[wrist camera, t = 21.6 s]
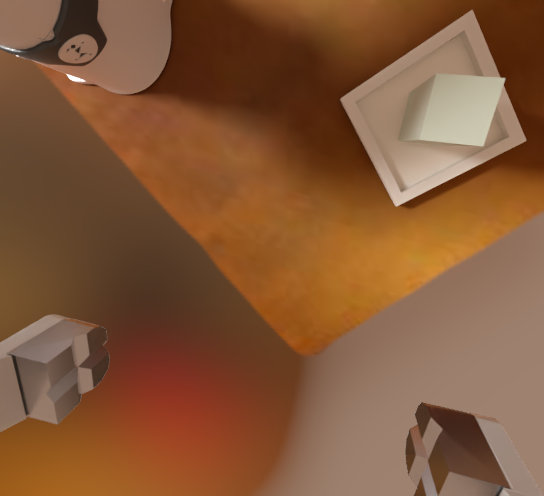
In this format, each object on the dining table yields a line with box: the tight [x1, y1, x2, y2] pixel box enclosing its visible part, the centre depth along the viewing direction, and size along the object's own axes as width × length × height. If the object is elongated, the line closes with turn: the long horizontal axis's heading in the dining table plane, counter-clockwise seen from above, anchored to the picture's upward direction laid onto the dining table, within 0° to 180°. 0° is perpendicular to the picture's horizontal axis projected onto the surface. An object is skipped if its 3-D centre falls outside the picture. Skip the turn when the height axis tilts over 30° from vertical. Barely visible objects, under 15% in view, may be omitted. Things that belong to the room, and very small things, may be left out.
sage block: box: [398, 73, 506, 147], centre depth 29 cm, size 5×5×10 cm
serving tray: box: [340, 10, 527, 207], centre depth 33 cm, size 14×14×2 cm
